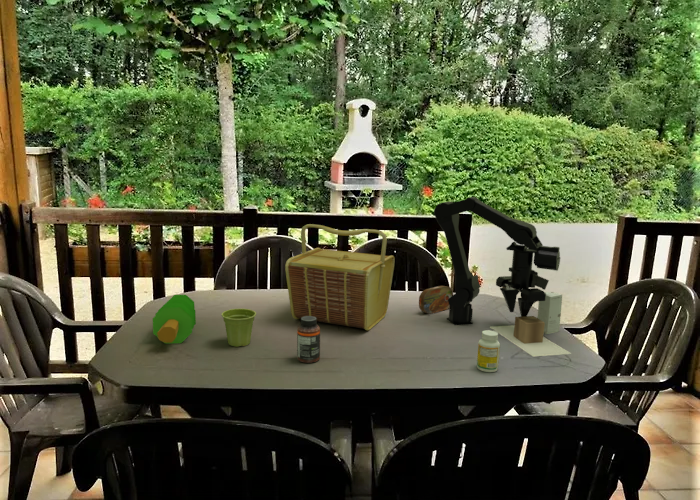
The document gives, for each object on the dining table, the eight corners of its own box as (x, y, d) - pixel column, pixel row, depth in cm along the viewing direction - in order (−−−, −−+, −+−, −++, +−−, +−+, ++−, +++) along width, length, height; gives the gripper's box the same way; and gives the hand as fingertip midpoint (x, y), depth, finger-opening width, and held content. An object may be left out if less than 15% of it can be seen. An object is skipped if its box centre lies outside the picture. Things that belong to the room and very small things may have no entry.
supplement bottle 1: (305, 353, 149) (306, 313, 147) (324, 358, 146) (325, 317, 144) (292, 360, 144) (292, 318, 142) (311, 365, 141) (312, 323, 139)
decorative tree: (155, 308, 144) (174, 276, 173) (139, 346, 146) (161, 308, 175) (197, 323, 147) (208, 289, 176) (181, 361, 149) (195, 321, 178)
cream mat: (533, 357, 151) (533, 356, 151) (488, 327, 174) (489, 326, 174) (571, 354, 153) (571, 353, 153) (523, 325, 177) (523, 324, 177)
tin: (423, 316, 185) (424, 291, 183) (416, 313, 187) (417, 289, 185) (453, 308, 194) (454, 285, 192) (446, 306, 196) (447, 283, 195)
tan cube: (513, 335, 166) (524, 343, 160) (515, 316, 165) (526, 323, 159) (531, 334, 167) (542, 342, 162) (533, 315, 166) (544, 322, 160)
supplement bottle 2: (492, 374, 139) (495, 338, 137) (472, 368, 142) (475, 332, 140) (501, 368, 143) (504, 332, 141) (482, 362, 146) (485, 327, 144)
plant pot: (262, 340, 158) (262, 310, 157) (245, 351, 149) (245, 320, 148) (233, 335, 161) (233, 306, 160) (215, 346, 152) (214, 316, 151)
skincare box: (547, 335, 169) (551, 296, 166) (535, 331, 172) (538, 293, 170) (559, 332, 172) (563, 294, 170) (547, 327, 176) (551, 290, 173)
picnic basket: (281, 323, 173) (281, 228, 167) (316, 302, 197) (318, 218, 191) (369, 338, 162) (372, 236, 157) (395, 314, 186) (399, 225, 180)
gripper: (564, 272, 159) (559, 324, 163) (528, 258, 177) (524, 305, 180) (530, 273, 157) (525, 326, 160) (497, 259, 174) (493, 306, 177)
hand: (517, 315), depth 169 cm, fingers open, 6 cm apart
